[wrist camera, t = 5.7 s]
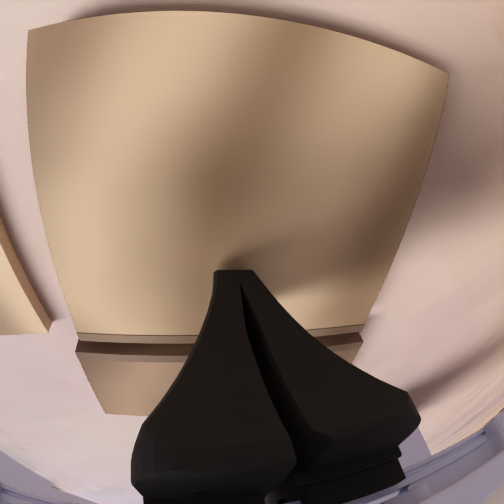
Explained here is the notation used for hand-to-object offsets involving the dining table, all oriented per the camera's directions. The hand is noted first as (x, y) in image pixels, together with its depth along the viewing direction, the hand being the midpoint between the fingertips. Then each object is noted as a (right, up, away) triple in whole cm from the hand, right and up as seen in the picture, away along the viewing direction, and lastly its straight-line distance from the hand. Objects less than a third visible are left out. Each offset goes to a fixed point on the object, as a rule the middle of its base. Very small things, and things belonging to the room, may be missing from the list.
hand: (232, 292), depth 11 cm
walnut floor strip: (-1, -5, +5) cm, 7 cm away
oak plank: (0, +3, 0) cm, 3 cm away
